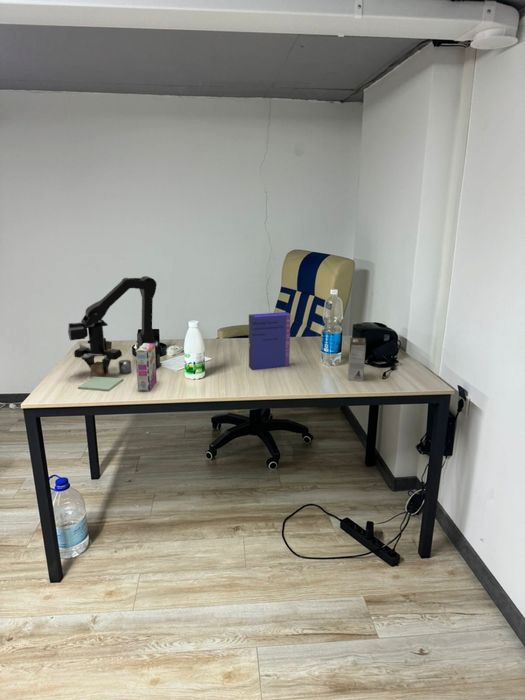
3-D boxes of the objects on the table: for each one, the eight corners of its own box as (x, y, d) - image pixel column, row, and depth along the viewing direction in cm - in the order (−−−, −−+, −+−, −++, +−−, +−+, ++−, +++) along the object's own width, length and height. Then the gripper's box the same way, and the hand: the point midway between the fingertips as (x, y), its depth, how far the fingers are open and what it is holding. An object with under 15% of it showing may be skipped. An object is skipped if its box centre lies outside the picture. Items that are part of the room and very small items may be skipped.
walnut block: (108, 373, 200) (107, 362, 199) (102, 377, 196) (101, 366, 194) (97, 372, 201) (96, 361, 200) (91, 376, 197) (90, 365, 195)
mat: (123, 380, 193) (123, 378, 192) (108, 391, 181) (108, 389, 181) (94, 378, 195) (94, 376, 195) (78, 388, 184) (77, 386, 183)
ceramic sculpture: (74, 337, 222) (103, 333, 232) (75, 355, 224) (104, 350, 235) (84, 342, 215) (114, 337, 225) (85, 360, 217) (115, 355, 228)
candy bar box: (150, 391, 181) (147, 351, 176) (137, 391, 181) (134, 350, 177) (157, 381, 192) (155, 342, 187) (145, 381, 192) (142, 342, 187)
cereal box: (285, 363, 215) (286, 311, 208) (289, 366, 211) (290, 314, 203) (248, 366, 210) (248, 314, 203) (251, 370, 205) (251, 316, 198)
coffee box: (348, 372, 203) (350, 337, 198) (363, 373, 202) (365, 337, 197) (347, 380, 194) (350, 343, 189) (363, 381, 193) (366, 343, 188)
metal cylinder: (133, 371, 204) (132, 360, 202) (128, 375, 199) (127, 363, 197) (122, 370, 204) (121, 359, 203) (117, 374, 200) (116, 363, 198)
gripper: (126, 333, 200) (129, 368, 204) (86, 330, 203) (89, 365, 207) (113, 340, 189) (117, 376, 194) (71, 337, 192) (75, 373, 197)
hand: (100, 372), depth 198 cm, fingers closed on walnut block, 5 cm apart
